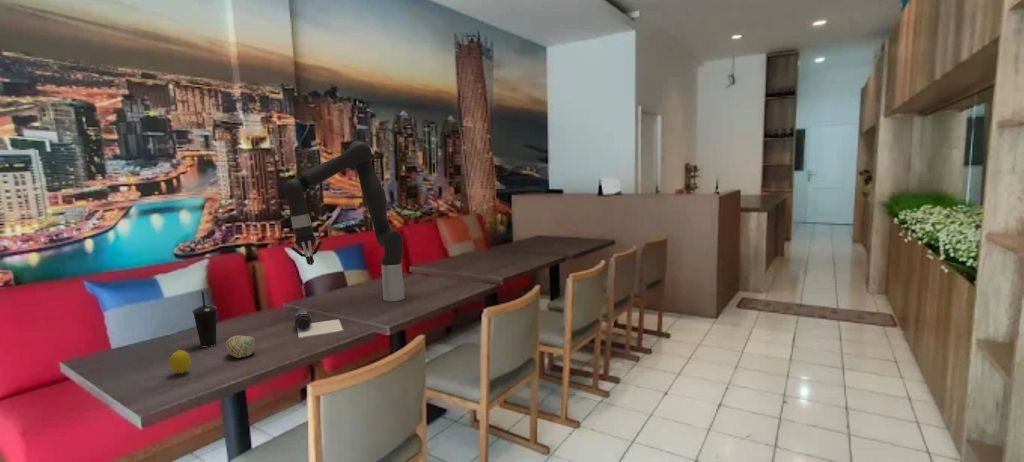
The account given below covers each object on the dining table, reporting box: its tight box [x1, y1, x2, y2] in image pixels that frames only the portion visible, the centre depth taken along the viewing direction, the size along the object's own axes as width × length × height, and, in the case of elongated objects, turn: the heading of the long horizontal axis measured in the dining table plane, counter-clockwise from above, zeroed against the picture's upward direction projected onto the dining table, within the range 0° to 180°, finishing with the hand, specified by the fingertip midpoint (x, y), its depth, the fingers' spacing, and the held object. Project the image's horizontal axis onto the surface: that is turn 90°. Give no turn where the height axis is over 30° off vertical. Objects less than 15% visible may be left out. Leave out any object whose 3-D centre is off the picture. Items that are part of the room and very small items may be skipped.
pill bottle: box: [293, 308, 312, 330], centre depth 199 cm, size 6×6×11 cm
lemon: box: [169, 349, 192, 374], centre depth 159 cm, size 6×6×8 cm
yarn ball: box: [225, 334, 256, 359], centre depth 174 cm, size 10×10×10 cm
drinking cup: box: [191, 291, 218, 347], centre depth 183 cm, size 8×8×20 cm
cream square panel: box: [296, 318, 344, 339], centre depth 199 cm, size 16×15×1 cm
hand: (311, 264), depth 219 cm, fingers closed
